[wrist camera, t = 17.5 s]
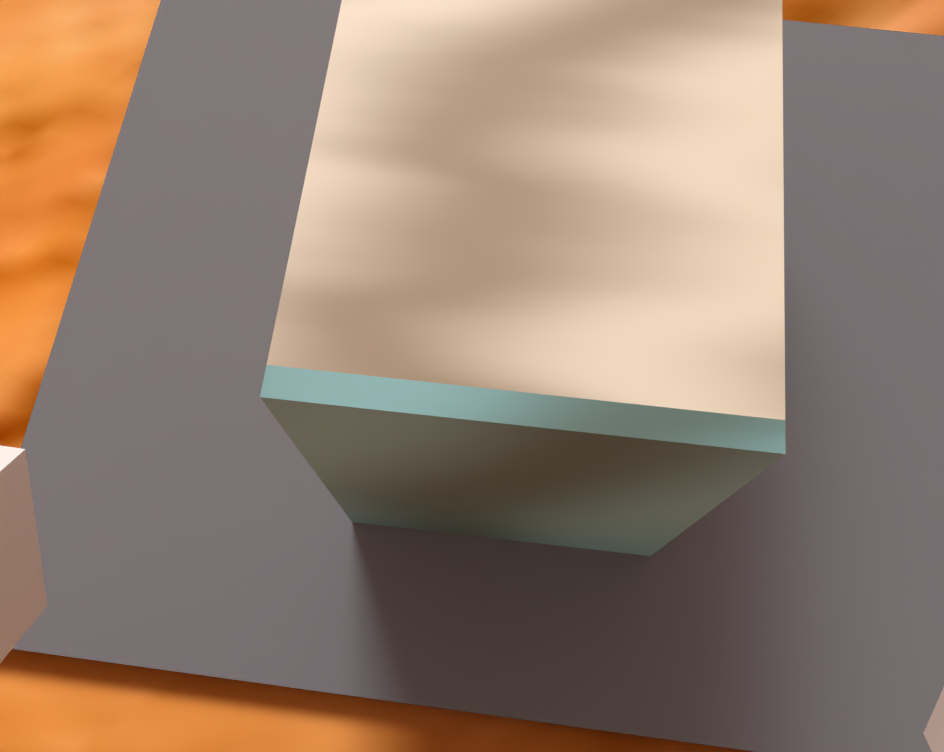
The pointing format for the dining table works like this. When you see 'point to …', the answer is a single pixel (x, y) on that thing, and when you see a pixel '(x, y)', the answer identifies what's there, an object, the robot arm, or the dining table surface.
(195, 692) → the dining table surface
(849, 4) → the dining table surface
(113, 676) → the dining table surface
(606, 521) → the block
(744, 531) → the mat
